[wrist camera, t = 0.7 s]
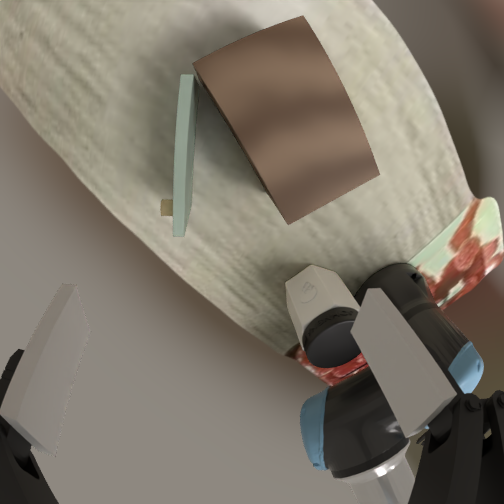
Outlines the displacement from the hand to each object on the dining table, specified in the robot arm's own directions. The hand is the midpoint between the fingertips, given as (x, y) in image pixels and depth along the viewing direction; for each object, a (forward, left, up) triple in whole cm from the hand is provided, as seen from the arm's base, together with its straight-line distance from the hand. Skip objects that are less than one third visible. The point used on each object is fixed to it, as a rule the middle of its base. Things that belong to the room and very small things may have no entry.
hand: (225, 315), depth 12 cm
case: (+4, -10, -23) cm, 25 cm away
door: (+6, +1, -23) cm, 24 cm away
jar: (-20, -4, -24) cm, 31 cm away
